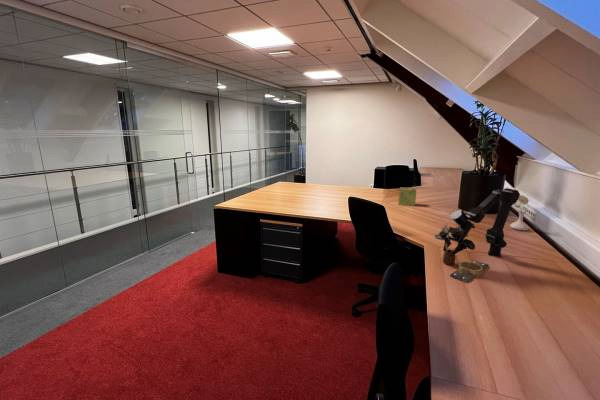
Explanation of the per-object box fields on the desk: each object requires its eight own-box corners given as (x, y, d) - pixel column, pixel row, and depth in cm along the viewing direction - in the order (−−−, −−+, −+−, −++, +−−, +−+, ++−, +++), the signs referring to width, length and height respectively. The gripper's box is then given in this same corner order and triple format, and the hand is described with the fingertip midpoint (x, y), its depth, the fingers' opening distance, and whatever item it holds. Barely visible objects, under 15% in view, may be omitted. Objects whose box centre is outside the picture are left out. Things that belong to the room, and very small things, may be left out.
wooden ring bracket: (470, 260, 167) (470, 255, 166) (491, 267, 159) (492, 262, 158) (446, 275, 151) (447, 269, 150) (469, 283, 142) (470, 278, 142)
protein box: (415, 206, 285) (416, 190, 281) (398, 204, 290) (399, 189, 286) (415, 203, 294) (416, 188, 291) (398, 202, 300) (399, 187, 296)
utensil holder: (457, 264, 162) (459, 243, 160) (447, 266, 161) (449, 245, 158) (449, 260, 168) (451, 240, 165) (439, 261, 166) (441, 241, 163)
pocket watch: (433, 237, 202) (434, 223, 200) (437, 234, 208) (439, 221, 206) (446, 240, 197) (447, 226, 194) (450, 237, 203) (451, 223, 200)
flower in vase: (532, 231, 212) (538, 197, 206) (516, 231, 212) (522, 197, 207) (519, 225, 225) (525, 193, 219) (504, 225, 225) (509, 193, 219)
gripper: (442, 217, 169) (427, 239, 166) (474, 226, 153) (458, 250, 150) (449, 228, 174) (435, 249, 172) (481, 238, 158) (466, 261, 156)
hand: (448, 252), depth 162 cm, fingers closed on utensil holder, 5 cm apart
